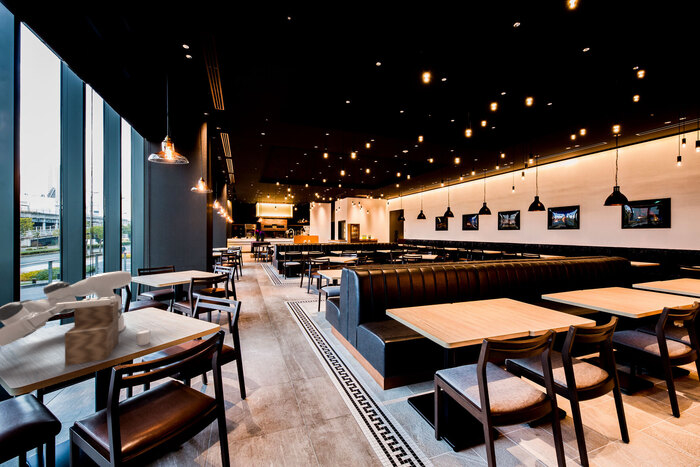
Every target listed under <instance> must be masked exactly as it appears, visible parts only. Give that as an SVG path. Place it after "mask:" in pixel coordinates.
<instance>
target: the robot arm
mask: <svg viewBox="0 0 700 467" xmlns="http://www.w3.org/2000/svg"><path fill="white" fill-rule="evenodd" d="M132 279H133V278H132V274H131V273H130V272H129V271H124V270H117V271H110V272H103V273H97V274H93V275H91V276H89V277H88V278H85V279H82V280H79V281H77V282H75V283H73V284H70V282H66V281H62V280H61V281H59V280H58V281H53V282H51V283H49V284H47V285H46V286H44V287H43V290H42V291H43V293H44V295H45V296H46V297H47V298H42V299H38V300H32V299H26V300H25V299H24V300H20V301H14V302H13V301H12V302H8V303H6V304H5V305H4V304H3V305H2V306H1V307H0V322H1V323H2V324H3V325H4V326H3V327H1V328H0V346H1V347H3V346H4V347H5V346H7V345H9V344H11V343H14V342H16V341H18V340H20V339H23V338H26V337H27V336H30V335H31V334H33V333H35V332H36V331H38V330H40V329H41V328H43V327H45V326H46V325H47V322H49V319H50V318H52V317H54V316H56V315H57V314H60V315H61V314H62V315H65V314H69V313H72V312H74V309H75V308H71V309H63V308H65V307H66V306H65V305H61V306H59V307H57V308H56V304H57V303H63V302H75V301H78V300H77V297H86V296H92V295H94V294H95V295H96V298H100V297H101V298H102V297H114V296H116V301H118V333H120V332H122V331H124V330H125V328H126V327H127V324H125V319H124V318H125V317H124V315H123V308H122V298H121V296H120V295H119V294H116V293H114V289H118V288H122V287H125V286H128V285H130V284H131V282H132Z"/></svg>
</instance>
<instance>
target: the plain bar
mask: <svg viewBox="0 0 700 467" xmlns="http://www.w3.org/2000/svg"><path fill="white" fill-rule="evenodd" d="M110 304H111V299H99V300H87V301H82V300H77V301H75V302H63V303H57V304H56V308H57V307H59V306H61V305H65V306H66V307H65V308H63V309H71V308H82V307H93V306H104V305H110Z"/></svg>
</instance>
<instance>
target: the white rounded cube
mask: <svg viewBox="0 0 700 467" xmlns="http://www.w3.org/2000/svg"><path fill="white" fill-rule="evenodd" d="M135 335H136V341H137V346H144V345H148V344H149V343H150V340H151V329H141V330H139V331H136V333H135Z"/></svg>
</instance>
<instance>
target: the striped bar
mask: <svg viewBox="0 0 700 467" xmlns="http://www.w3.org/2000/svg"><path fill="white" fill-rule="evenodd" d="M99 299H111V303H114V302H116V296H114V297H102V298H101V297H100V298H98V297H93V298H91V297H90V298H83V299H82V300H81V301H87V300H99Z"/></svg>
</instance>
